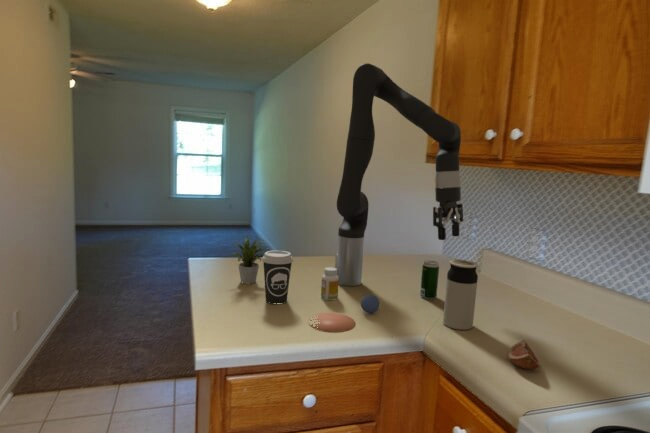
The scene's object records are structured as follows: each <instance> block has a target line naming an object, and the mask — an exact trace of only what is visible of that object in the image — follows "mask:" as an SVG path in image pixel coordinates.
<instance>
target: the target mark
mask: <svg viewBox="0 0 650 433" xmlns="http://www.w3.org/2000/svg"><path fill="white" fill-rule="evenodd" d="M318 314H319V315H318ZM314 315H316V317H317V315H318V318H317V319H315V320H318V322H320V324H319V323H318V324H315V325H316V326H315V327H314V328H313V329H315V328H317V327H318V328H317V329H316V330H318V329H319V330H318V331H321V330H322V332H326V331H327V333H343V332H346V331H349V330H351V329H353V328H354V327H356V321H355V320H354V318H352V317H351V316H349V315H346V314H342V313H338V312H320V313H316V314H314ZM312 318H313V317H312ZM314 318H315V317H314ZM308 319H309V318H308ZM309 320H310V319H309ZM313 320H314V319H313ZM319 320H320V321H319ZM310 321H312V320H310ZM316 322H317V321H316ZM314 323H315V322H314ZM317 325H318V326H317ZM312 326H313V324H312V325H311V326H310V327H312Z"/></svg>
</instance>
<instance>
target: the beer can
mask: <svg viewBox="0 0 650 433" xmlns="http://www.w3.org/2000/svg"><path fill="white" fill-rule="evenodd" d="M439 264H440V262H438V261H435V260H430V259H427V260H423V263H422V266H421V270H422V271H421V278H420V280H421V281H420V291H419V295H420V298H422V299H425V300H428V301H429V300H435V299H436V298H437V294H438V286H439V284H438V283H439V274H440V265H439Z"/></svg>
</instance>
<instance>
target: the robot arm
mask: <svg viewBox="0 0 650 433" xmlns="http://www.w3.org/2000/svg"><path fill="white" fill-rule="evenodd" d="M351 95H352V97H351V101H352V102H351V112H350V118H349V126H348V127H349V128H348V134H347V138H346V146H345V155H344V162H343V171H342V177H341V182H340V186H339V190H338V194H337V197H336V198H337V199H336V209H337V212H338V214H339V215H340V216H341V217H343V219H342V222H341V224H340V225H339V227H338V232H337V233H338V235H337V253H336V254H335V258H334V259H335V260H334V261H335V263H334V268H336V269H337V274H336V275H337V276H338V277H339V283H338V285H341V286H345V287H357V286H360V285H361V284H362V279H363V278H362V277H363V276H362V275H363V264H364V263H363V262H364V259H363V258H364V246H365V242H364V241H365V232H366V230H367V225H368V217H369V199H368V197H367V195H366V194H365V193H364V192H363V191H362V183H363V179H364V177H365V173H366V171H367V169H368V166H369V164H370V162H371V160H372V156H373V153H374V147H375V146H374V145H375V139H376V131H375V129H376V128H375V123H374V117H373V104H374V99H375V98H378V99H381V100H383V101H384V102H386V103H387V104H388V105H390V106H392V107H393V108H394V109H395V110H396V111H397V112H398V113H399V114H400V115H401V116H402V117H404V118H405V119H406V120H408V121H409V122H410V123H412V124H413V125H415V126H416V127H418V128H419V129H420V130H422V131H424V133H425V134H427V136H429V137H430V138H431V139H432V140H434V141H436V142H437V143H438V150H437V151H438V153H437V154H436V155H435V175H434V176H435V178H434V182H435V183H434V185H435V186H434V189H435V202H437V203H439V206H438V205H437V206H433V207H432V210H433V211H432V226H433V227H436V228H437V239H438V240H439V241H445V240H446V237H447V230H446V225H447V223H449V221H450V222H451V236H452V237H460V225H461V224H462V222H464V211H463V210H464V208H463V203H459V202H460V201H461V198H462V197H461V196H462V195H461V192H462V191H461V174H460V157H459V155H460V150H461V148H460V147H461V139H462V138H461V137H462V133H461V129H460V126H459V125H458V124H457V123H456V122H454V121H450V119H448V118H445V117H444V116H443V115H440V113H438V112H436V110H435V109H434V108H432V107H431V106H429V105H428V104H426V103H425V102H424V101H422V100H421V99H419V98H418V97H416V96H414V95H413V94H411V93H409V92H408V91H406V90H405V89H403V88H401V86H399V85H398V84H397V83H395V82H394V81H393V80H392V78H390V76H388V75H387V73H385V72H384V70H383V69H382V68H380V67H378V66H376V65H374V64H372V63H367V62H366V63H362V64H360V65H359V66H358V67H357V68H356V70H355V72H354V75H353V79H352V94H351Z"/></svg>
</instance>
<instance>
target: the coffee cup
mask: <svg viewBox="0 0 650 433" xmlns="http://www.w3.org/2000/svg"><path fill="white" fill-rule="evenodd" d="M264 253H265V254H264ZM264 253H263V255H264V256H263V257H262V258H261V262H263V273H264V274H263V275H264V277H263V278H264V289H265V294H264V296H265V302H266V301H267V302H270V303H276V304H275V305H278V304H277V303H283V304H285V303H286V301H288V294H289V286H290V279H291V278H290V277H291V269H292V263H293V262H294V258H293V256H292V253H291V252H290V251H286V250H269V251H266V252H264ZM267 302H266V303H267ZM284 302H285V303H284ZM270 303H269V304H270Z"/></svg>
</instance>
